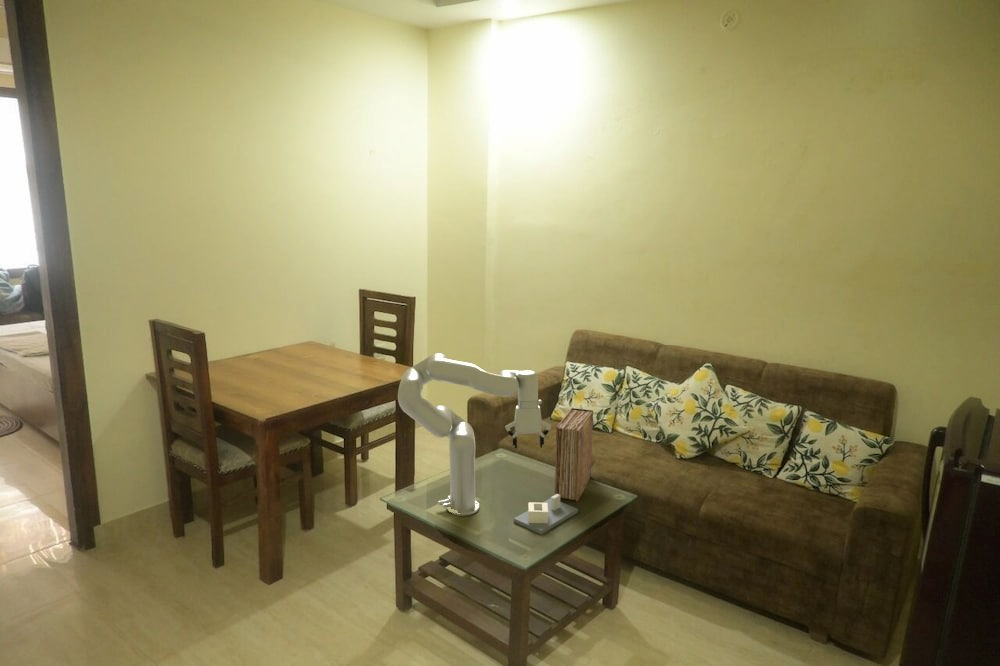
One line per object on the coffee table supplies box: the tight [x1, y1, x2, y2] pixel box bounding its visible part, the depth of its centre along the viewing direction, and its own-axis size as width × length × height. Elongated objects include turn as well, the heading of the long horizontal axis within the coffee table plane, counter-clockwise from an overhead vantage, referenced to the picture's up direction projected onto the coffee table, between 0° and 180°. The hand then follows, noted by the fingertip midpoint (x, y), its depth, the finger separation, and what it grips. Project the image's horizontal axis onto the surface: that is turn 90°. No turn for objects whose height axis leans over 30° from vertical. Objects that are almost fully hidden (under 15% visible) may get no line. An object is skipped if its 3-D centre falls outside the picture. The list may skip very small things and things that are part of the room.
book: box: [554, 407, 594, 503], centre depth 251 cm, size 25×9×30 cm, turn 159°
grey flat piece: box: [513, 494, 579, 536], centre depth 229 cm, size 22×13×6 cm, turn 138°
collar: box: [527, 501, 548, 523], centre depth 225 cm, size 7×7×4 cm
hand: (528, 446), depth 234 cm, fingers open, 9 cm apart
